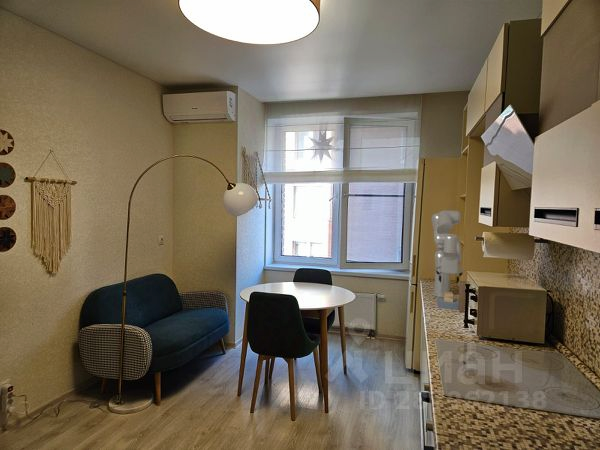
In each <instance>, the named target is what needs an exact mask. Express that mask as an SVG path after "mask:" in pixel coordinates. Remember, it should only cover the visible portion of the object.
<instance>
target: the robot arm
mask: <svg viewBox="0 0 600 450" xmlns="http://www.w3.org/2000/svg"><path fill="white" fill-rule="evenodd" d="M461 219H462V217H461V213H460V211H459V210H449V209H447V210H441V211H439V212H436V213H434V214H432V215H431V225H432V227H433V228H432V229H433V230H434V231H433V241H434V243H435V247H436V249H437V251H435V252H434V266H435V267H434V291H433V292H431V296H434V297H437V298H443V295H444V292H450V278H451V276H450V275H456V277H455V279H456V280H455V282H456V285H457V284H459V283H460V277H461V276H462V275H463V274H464V273H465V270H464V269H463V268H461V267H459V265H461V264H462V261H463V257H462V246H461V241H460V239H459V237H458V235H457V234H454V233H449V232H450V231H452V229H453V228H454V226H455V225H458V224H459V223H461ZM459 271H461V272H459Z"/></svg>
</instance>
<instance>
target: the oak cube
mask: <svg viewBox="0 0 600 450" xmlns="http://www.w3.org/2000/svg"><path fill="white" fill-rule="evenodd" d="M442 298H443V300H444V302H453V299H454V293H453V292H452V291H449V292H444V295H443V297H442Z"/></svg>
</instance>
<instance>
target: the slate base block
mask: <svg viewBox="0 0 600 450" xmlns="http://www.w3.org/2000/svg"><path fill="white" fill-rule="evenodd" d="M436 304H437V305H436V306H437V309H443V310H444V309H445V310H456V311H459V299H457V298H453V302H444V300H443V297H437V298H436Z"/></svg>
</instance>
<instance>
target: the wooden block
mask: <svg viewBox="0 0 600 450" xmlns="http://www.w3.org/2000/svg"><path fill="white" fill-rule="evenodd" d="M467 281H468V280H459V291H458V294H459V295H458V297H459V298H458V302H459V310H458V311H459V313H464V310H465V284H466V283H467Z"/></svg>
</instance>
